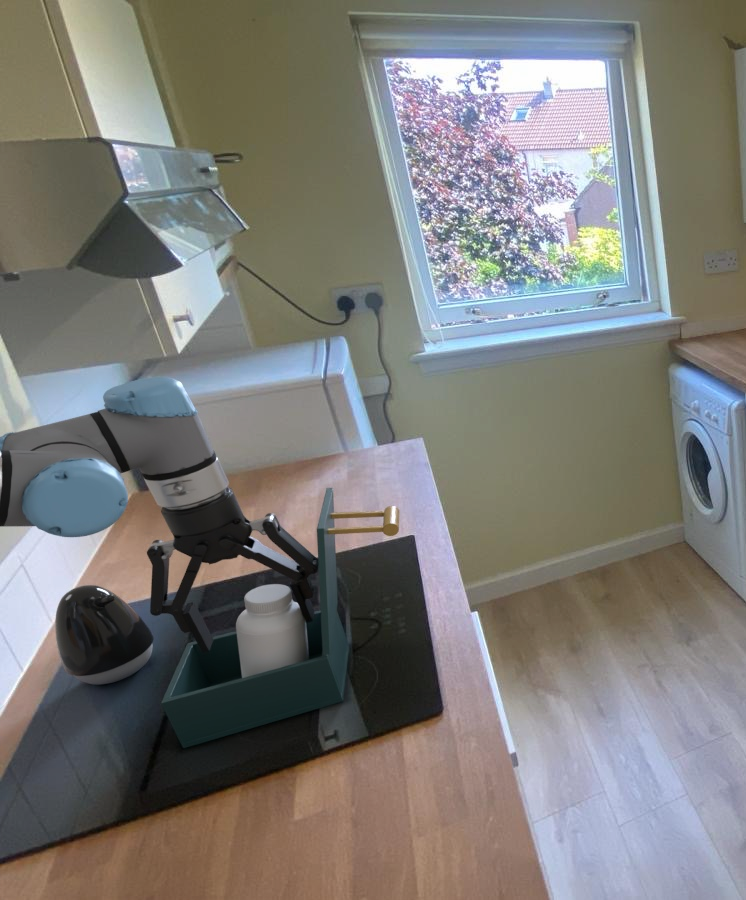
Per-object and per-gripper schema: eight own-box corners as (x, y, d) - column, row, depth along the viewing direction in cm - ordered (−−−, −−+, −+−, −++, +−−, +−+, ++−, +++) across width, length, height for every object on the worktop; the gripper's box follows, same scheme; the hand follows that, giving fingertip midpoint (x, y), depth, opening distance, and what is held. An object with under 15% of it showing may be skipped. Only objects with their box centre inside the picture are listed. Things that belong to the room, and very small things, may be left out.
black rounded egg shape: (116, 698, 106) (71, 612, 100) (57, 692, 108) (9, 607, 102) (180, 652, 116) (143, 571, 109) (125, 647, 117) (85, 566, 111)
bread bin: (183, 748, 97) (160, 703, 94) (206, 685, 108) (187, 643, 105) (343, 701, 104) (327, 657, 101) (349, 646, 116) (335, 606, 112)
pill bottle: (228, 692, 103) (217, 599, 98) (278, 661, 110) (270, 573, 106) (276, 707, 101) (267, 613, 97) (323, 675, 109) (317, 586, 104)
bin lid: (316, 528, 95) (398, 525, 99) (326, 487, 106) (399, 485, 110) (322, 655, 101) (399, 647, 105) (331, 604, 112) (400, 598, 116)
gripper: (65, 537, 86) (148, 678, 95) (299, 484, 95) (354, 618, 104) (88, 509, 92) (164, 644, 101) (306, 462, 101) (357, 590, 110)
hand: (260, 631), depth 103 cm, fingers open, 12 cm apart
